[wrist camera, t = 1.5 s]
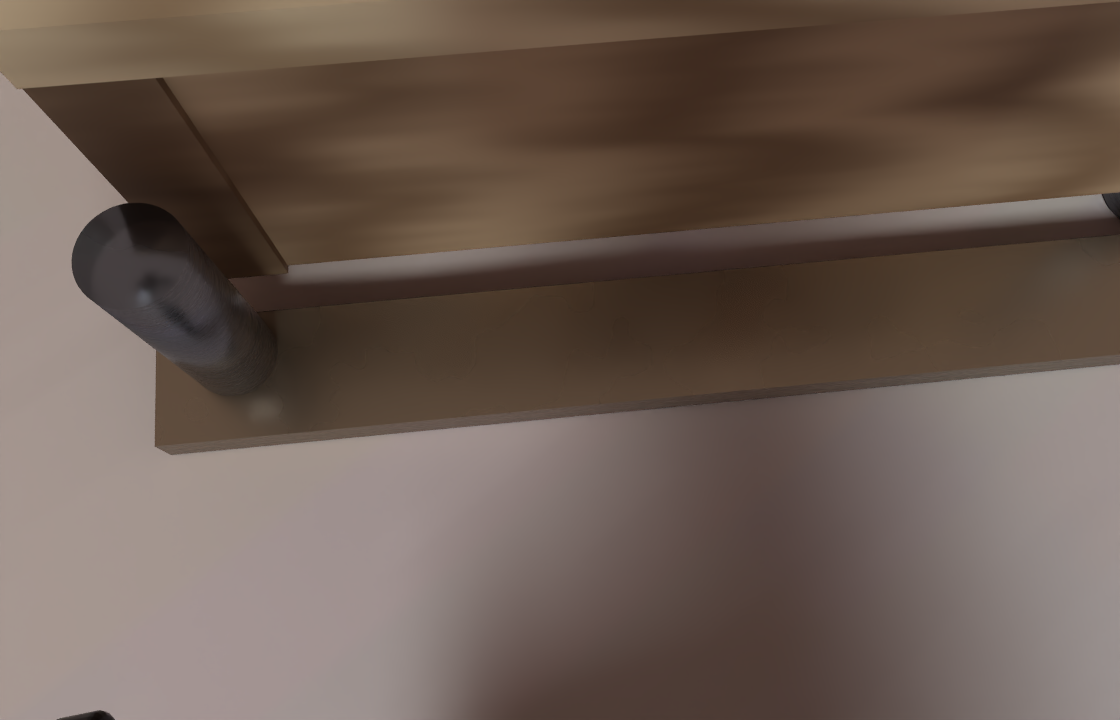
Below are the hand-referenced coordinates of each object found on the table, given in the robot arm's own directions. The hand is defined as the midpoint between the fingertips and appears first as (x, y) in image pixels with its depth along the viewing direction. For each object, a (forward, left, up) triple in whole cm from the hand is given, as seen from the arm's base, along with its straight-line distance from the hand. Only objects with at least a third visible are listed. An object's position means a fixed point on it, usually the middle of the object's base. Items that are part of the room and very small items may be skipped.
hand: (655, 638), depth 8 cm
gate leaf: (+5, -9, -13) cm, 16 cm away
